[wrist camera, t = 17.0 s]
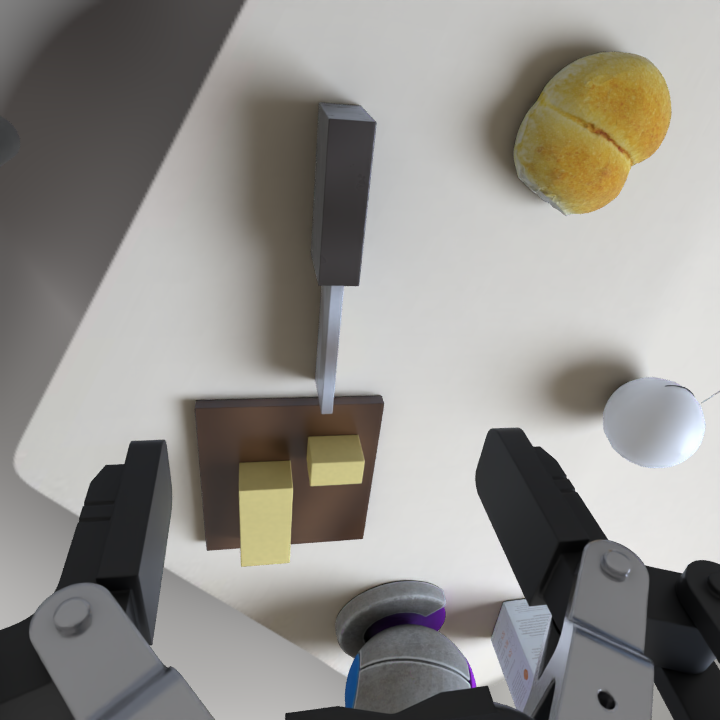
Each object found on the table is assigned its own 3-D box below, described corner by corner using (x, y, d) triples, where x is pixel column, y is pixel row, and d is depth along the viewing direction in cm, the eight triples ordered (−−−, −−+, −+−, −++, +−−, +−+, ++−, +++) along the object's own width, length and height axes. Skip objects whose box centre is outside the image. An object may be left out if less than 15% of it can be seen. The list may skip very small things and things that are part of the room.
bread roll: (675, 103, 34) (720, 116, 30) (570, 222, 37) (601, 245, 34) (593, 11, 30) (635, 14, 27) (484, 153, 33) (510, 171, 30)
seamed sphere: (590, 438, 50) (636, 500, 44) (581, 379, 45) (632, 439, 39) (696, 398, 49) (758, 455, 43) (698, 334, 45) (767, 388, 39)
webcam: (431, 644, 66) (473, 795, 53) (326, 652, 63) (345, 813, 50) (461, 577, 59) (517, 733, 47) (344, 583, 56) (371, 750, 44)
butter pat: (306, 458, 44) (309, 486, 41) (307, 436, 42) (311, 463, 40) (355, 456, 45) (361, 483, 42) (358, 434, 43) (365, 461, 41)
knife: (318, 102, 30) (328, 118, 27) (361, 105, 31) (376, 122, 27) (304, 380, 41) (310, 419, 37) (336, 379, 41) (345, 418, 37)
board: (207, 541, 49) (206, 551, 48) (195, 400, 40) (194, 408, 39) (361, 530, 52) (363, 539, 51) (382, 395, 43) (384, 403, 42)
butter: (241, 537, 48) (241, 567, 45) (239, 462, 43) (238, 491, 40) (287, 534, 49) (289, 563, 46) (290, 460, 44) (293, 488, 41)
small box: (531, 632, 68) (572, 725, 60) (489, 638, 67) (524, 733, 59) (547, 594, 64) (594, 689, 55) (502, 600, 63) (542, 697, 54)
